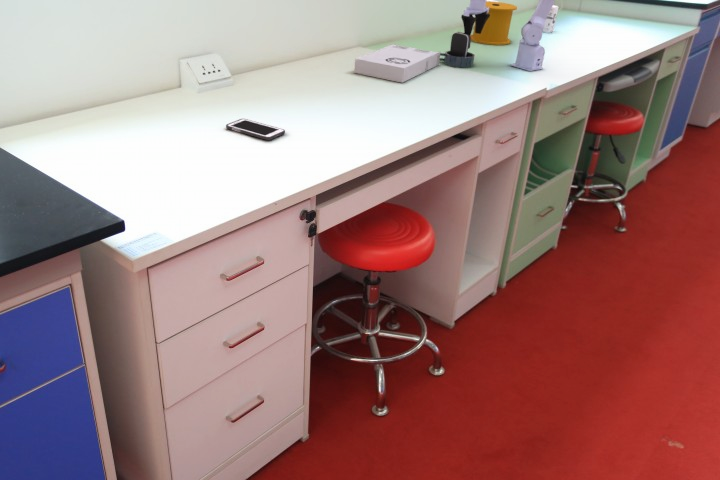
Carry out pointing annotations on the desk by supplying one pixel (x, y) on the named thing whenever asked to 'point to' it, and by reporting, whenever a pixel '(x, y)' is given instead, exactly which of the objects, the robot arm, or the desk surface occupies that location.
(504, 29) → the spool
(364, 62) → the power supply unit
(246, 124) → the cell phone
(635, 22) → the desk surface
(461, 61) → the gray segmented ring
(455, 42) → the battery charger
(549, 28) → the ink box
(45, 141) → the desk surface
